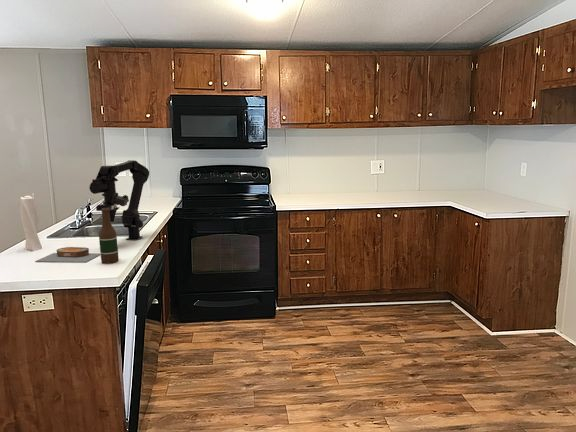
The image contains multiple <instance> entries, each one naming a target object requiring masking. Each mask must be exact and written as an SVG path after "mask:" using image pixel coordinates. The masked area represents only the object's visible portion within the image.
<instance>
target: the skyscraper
mask: <svg viewBox="0 0 576 432" xmlns="http://www.w3.org/2000/svg"><path fill="white" fill-rule="evenodd" d="M20 218H21V219H20V221H21V223H22V224H21V225H22V227H23V228H22V229H23V230H24V231H23V232H24V234H25V244H24V245H25V246H24V247H25V248H24V250H25V249H28V251H36V250H39V249H43V246H42V244H41V241H40V238H39V234H38V232H39V225H40V224H39V223H40V221H39V211H38V208H37V205H36V201H35V194H34V192H31V195H24V197H23V196H21V197H20Z"/></svg>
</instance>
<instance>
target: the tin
mask: <svg viewBox="0 0 576 432" xmlns="http://www.w3.org/2000/svg"><path fill="white" fill-rule="evenodd" d="M89 250H90V248H89V247H84V246H83V247H82V246H81V247H79V246H67V247H61V248H58V249H56V253H57V255H58V256H61V257H81V256H85V255H87V254H89V253H90V251H89Z"/></svg>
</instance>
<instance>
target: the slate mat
mask: <svg viewBox="0 0 576 432" xmlns="http://www.w3.org/2000/svg"><path fill="white" fill-rule="evenodd" d="M99 256H100V257H101V253H95V252H94V253H90V252H89V254H87V255H85V256H81V257H61V256H58V255H57V252H52V253H50V254H48V255H46V256H44V257H42V258H40V259H37V260H35V263H81V264H82V263H83V264H85V263H88V262H90V261H92V260H94V259H96V258H97V257H99Z"/></svg>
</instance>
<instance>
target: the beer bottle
mask: <svg viewBox="0 0 576 432" xmlns="http://www.w3.org/2000/svg"><path fill="white" fill-rule="evenodd" d="M109 211H110V209H109V208H102V209H101V211H100V212H101V216H102V217H101V224H102V225H101V228H100V230H99V232H98V238H99V241H98V242H99V250H100V251H99V252H100V253H101V255H100V261H101V264H102V265H103V264H104V265H106V264H107V265H110V264H116V263H118V262H119V259H120V258H119V247H118V238H117V231H116V229H115V228H114V226H113V225H112V222H111V220H110V213H109Z"/></svg>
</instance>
